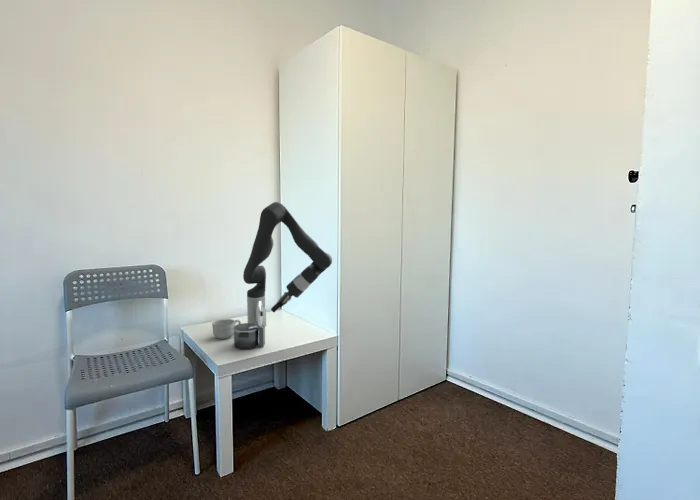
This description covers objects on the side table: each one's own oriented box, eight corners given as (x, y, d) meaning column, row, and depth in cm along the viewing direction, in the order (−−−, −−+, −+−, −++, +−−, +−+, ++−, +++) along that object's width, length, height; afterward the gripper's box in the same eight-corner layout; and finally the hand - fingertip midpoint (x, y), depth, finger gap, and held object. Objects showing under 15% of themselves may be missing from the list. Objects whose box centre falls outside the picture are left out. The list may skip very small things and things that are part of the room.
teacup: (213, 342, 192) (213, 325, 191) (211, 334, 202) (211, 319, 201) (243, 338, 198) (242, 322, 197) (239, 331, 208) (239, 316, 207)
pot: (237, 339, 196) (237, 321, 194) (266, 339, 196) (266, 321, 195) (230, 351, 181) (230, 331, 180) (261, 351, 182) (261, 331, 181)
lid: (260, 297, 192) (264, 297, 192) (260, 322, 194) (264, 322, 194) (255, 304, 180) (260, 304, 181) (256, 330, 182) (260, 330, 182)
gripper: (294, 276, 192) (268, 301, 193) (291, 282, 179) (264, 309, 180) (305, 287, 193) (279, 312, 194) (303, 294, 180) (276, 320, 181)
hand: (272, 310), depth 187 cm, fingers closed
